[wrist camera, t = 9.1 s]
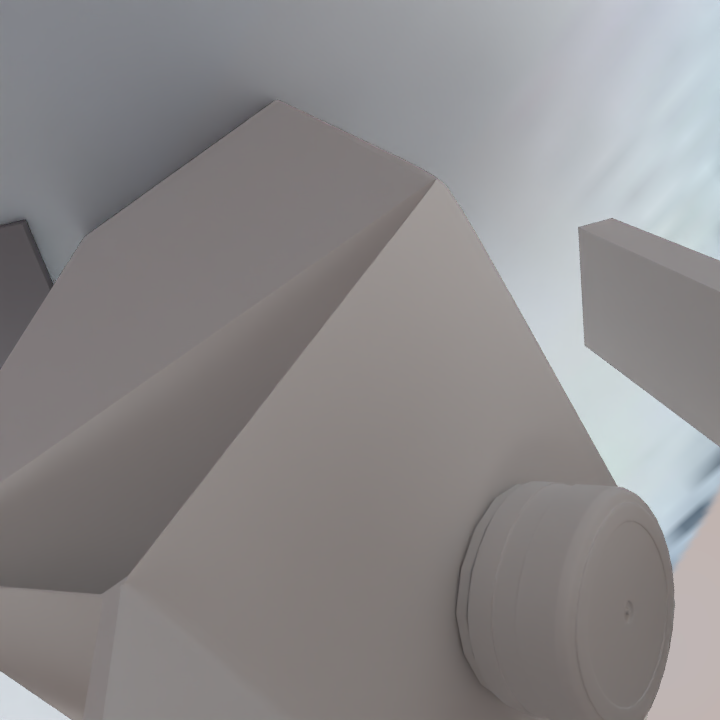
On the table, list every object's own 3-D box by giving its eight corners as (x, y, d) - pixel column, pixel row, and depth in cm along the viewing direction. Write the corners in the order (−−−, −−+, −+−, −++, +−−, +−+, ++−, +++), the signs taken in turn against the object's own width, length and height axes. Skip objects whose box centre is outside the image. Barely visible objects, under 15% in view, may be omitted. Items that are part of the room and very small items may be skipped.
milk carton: (228, 402, 23) (315, 1306, 6) (82, 236, 20) (-509, 1153, 3) (399, 285, 23) (968, 910, 6) (277, 96, 20) (757, 306, 3)
